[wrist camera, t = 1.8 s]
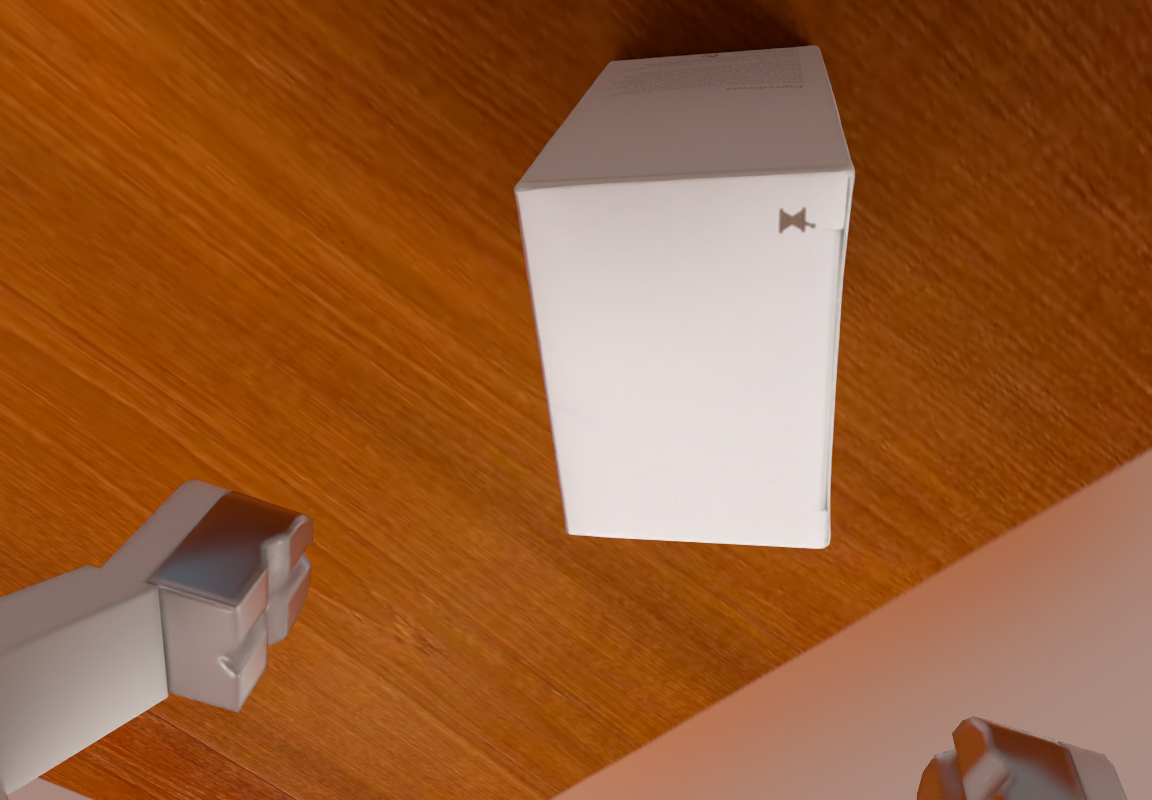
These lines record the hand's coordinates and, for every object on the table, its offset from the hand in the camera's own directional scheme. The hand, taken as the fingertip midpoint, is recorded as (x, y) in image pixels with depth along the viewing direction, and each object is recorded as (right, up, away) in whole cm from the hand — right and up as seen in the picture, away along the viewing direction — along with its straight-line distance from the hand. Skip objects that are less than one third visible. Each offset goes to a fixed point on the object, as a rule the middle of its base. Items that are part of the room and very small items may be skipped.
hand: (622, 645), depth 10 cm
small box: (+3, +9, +14) cm, 17 cm away
